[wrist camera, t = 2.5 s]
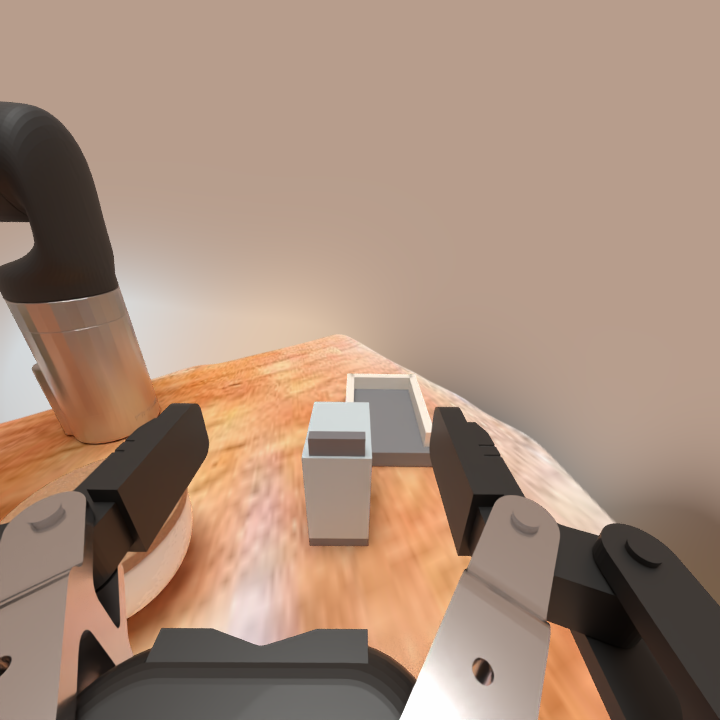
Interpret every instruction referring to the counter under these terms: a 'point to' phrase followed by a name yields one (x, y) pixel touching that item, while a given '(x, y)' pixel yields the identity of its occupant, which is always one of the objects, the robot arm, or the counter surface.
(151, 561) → the lidded jar
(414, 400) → the tray
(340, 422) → the tall grey block
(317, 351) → the counter surface
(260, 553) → the counter surface
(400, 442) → the tray
